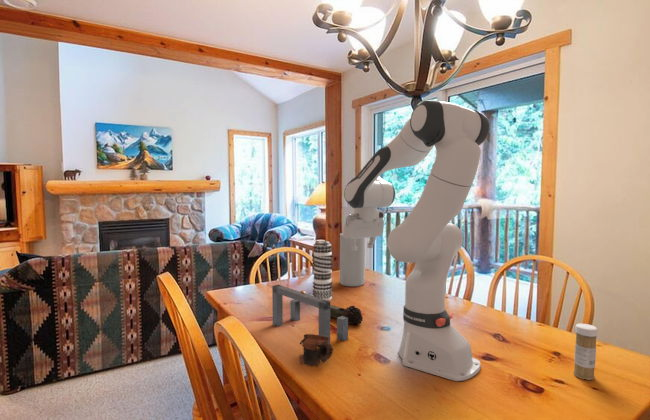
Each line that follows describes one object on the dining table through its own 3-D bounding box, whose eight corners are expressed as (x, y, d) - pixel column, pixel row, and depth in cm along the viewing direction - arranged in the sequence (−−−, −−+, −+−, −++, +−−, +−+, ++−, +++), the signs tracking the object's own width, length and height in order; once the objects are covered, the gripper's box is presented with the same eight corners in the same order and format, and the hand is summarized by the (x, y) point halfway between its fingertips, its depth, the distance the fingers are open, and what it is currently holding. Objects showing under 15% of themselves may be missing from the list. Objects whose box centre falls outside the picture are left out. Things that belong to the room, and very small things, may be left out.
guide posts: (347, 339, 119) (348, 317, 118) (342, 341, 117) (342, 319, 116) (295, 317, 138) (295, 299, 137) (290, 319, 136) (290, 300, 136)
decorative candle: (325, 302, 156) (326, 243, 154) (307, 298, 160) (307, 241, 159) (336, 296, 163) (337, 240, 162) (319, 293, 168) (319, 239, 167)
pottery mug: (289, 363, 104) (294, 332, 107) (313, 367, 110) (317, 338, 113) (320, 366, 96) (324, 333, 99) (343, 371, 102) (347, 339, 105)
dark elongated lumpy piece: (319, 316, 140) (319, 301, 140) (331, 312, 145) (331, 297, 145) (356, 328, 128) (356, 312, 128) (368, 323, 133) (368, 308, 133)
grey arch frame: (331, 346, 114) (331, 299, 113) (324, 349, 111) (324, 301, 110) (279, 322, 133) (279, 282, 132) (272, 324, 131) (272, 284, 130)
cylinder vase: (362, 280, 192) (362, 232, 190) (366, 286, 180) (367, 235, 178) (338, 280, 191) (338, 232, 190) (341, 287, 179) (341, 236, 177)
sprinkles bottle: (585, 371, 98) (588, 322, 98) (599, 381, 94) (602, 329, 93) (569, 372, 98) (571, 322, 97) (581, 381, 94) (584, 329, 93)
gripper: (353, 215, 132) (350, 253, 133) (387, 213, 146) (384, 247, 147) (340, 213, 136) (337, 250, 138) (374, 211, 150) (372, 245, 152)
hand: (362, 249), depth 143 cm, fingers open, 8 cm apart
